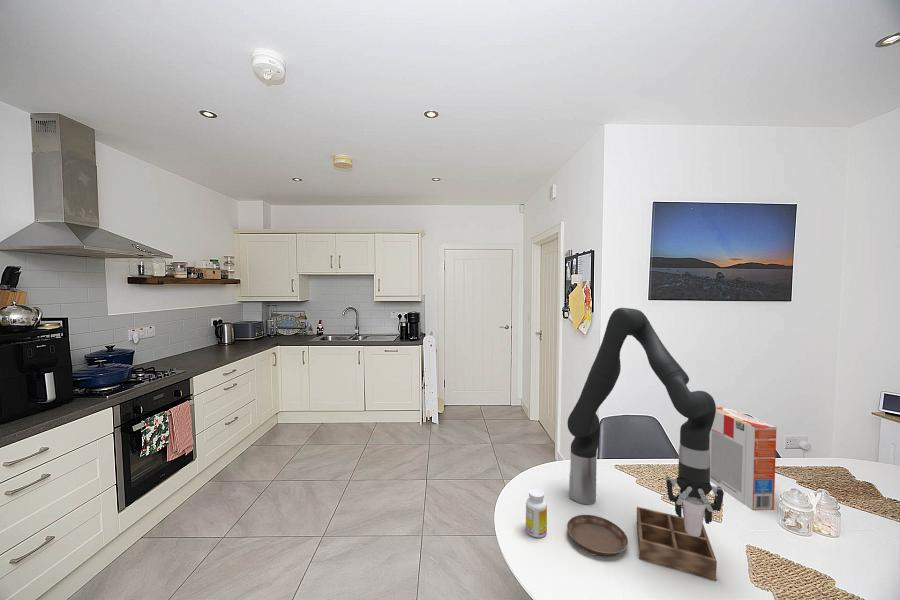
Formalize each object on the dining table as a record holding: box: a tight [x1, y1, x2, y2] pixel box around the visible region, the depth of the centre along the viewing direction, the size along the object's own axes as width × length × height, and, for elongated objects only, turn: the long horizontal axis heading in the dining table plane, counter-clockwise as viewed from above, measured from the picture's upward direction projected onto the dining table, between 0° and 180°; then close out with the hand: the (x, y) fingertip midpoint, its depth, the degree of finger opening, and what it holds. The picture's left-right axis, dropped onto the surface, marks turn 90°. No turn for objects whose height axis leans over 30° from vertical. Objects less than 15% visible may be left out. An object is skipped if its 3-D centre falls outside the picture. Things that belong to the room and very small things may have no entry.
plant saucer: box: [566, 514, 629, 558], centre depth 113 cm, size 18×18×3 cm
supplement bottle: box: [525, 488, 548, 538], centre depth 117 cm, size 7×7×13 cm
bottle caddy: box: [636, 506, 718, 582], centre depth 110 cm, size 18×18×6 cm
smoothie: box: [681, 496, 706, 537], centre depth 104 cm, size 6×6×14 cm
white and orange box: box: [709, 405, 777, 511], centre depth 141 cm, size 23×8×30 cm, turn 3°
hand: (693, 518), depth 104 cm, fingers closed on smoothie, 6 cm apart
